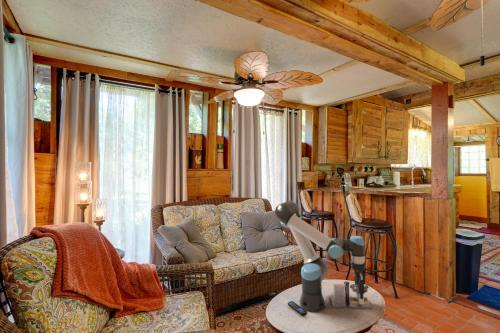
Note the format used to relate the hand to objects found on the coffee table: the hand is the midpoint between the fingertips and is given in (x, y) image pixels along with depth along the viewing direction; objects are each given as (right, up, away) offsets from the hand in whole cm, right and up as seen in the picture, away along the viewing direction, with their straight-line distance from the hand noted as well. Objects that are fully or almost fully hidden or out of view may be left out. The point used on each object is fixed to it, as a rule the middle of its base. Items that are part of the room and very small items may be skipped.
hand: (360, 301), depth 162 cm
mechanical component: (0, -1, +1) cm, 1 cm away
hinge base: (-5, -2, +2) cm, 6 cm away
